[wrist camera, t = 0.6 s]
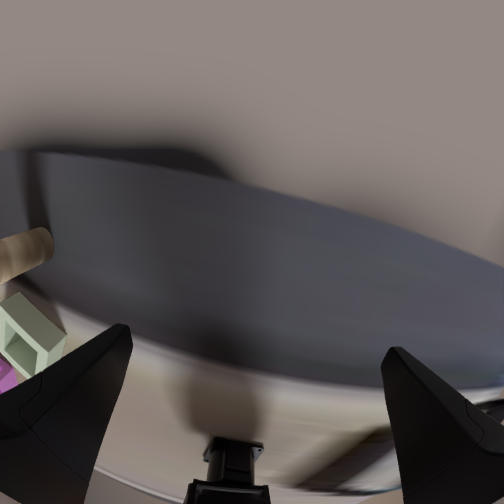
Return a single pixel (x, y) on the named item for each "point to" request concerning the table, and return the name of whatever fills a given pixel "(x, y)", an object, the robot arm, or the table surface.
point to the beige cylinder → (24, 252)
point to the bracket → (6, 377)
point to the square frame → (28, 336)
